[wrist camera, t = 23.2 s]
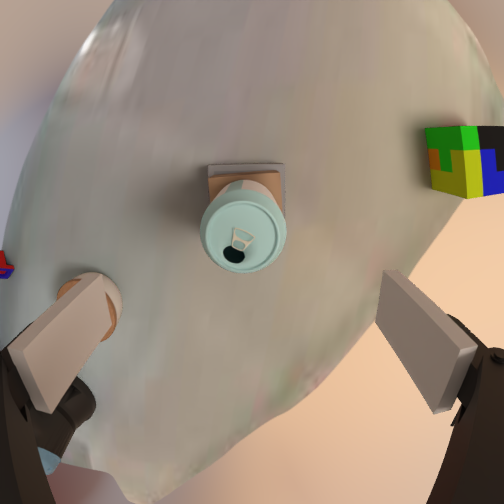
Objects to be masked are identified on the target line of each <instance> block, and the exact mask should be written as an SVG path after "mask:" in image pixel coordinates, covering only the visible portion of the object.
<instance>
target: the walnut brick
mask: <svg viewBox="0 0 504 504" xmlns="http://www.w3.org/2000/svg"><path fill="white" fill-rule="evenodd" d="M238 180H252V181H255V182H258V183H260V184H262V185H263V186H265V187H266V188H267V189H268V190H269V191H270V192H271V194H272V195H273V197H274V199H275V201H276V203H277V205H278V206H279V208H280V210H281V212H282V214H283V211H282V194H281V178H280V172H278V171H277V170H267V171H252V172H240V173H228V174H217V175H213V176H211V177H209V178H208V183H209V193H210V203H211V202H212V201H213V200H214V198H215V197H216V196H217V195H218V193H219V192H220V191H221V190H222V189H223V188H224V187H225V186H227V185H228V184H230V183H232V182H234V181H238Z"/></svg>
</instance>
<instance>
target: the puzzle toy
mask: <svg viewBox="0 0 504 504" xmlns="http://www.w3.org/2000/svg"><path fill="white" fill-rule="evenodd" d="M425 133H426V140H427V147H428V155H429V163H430V172H431V183H432V189H433V190H437V191H441V192H444V193H448V194H452V195H455V196H459V197H462V198H465V199H470V198H477V197H483V196H489V195H494V194H501V193H504V126H452V127H436V128H425Z"/></svg>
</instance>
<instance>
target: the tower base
mask: <svg viewBox="0 0 504 504" xmlns="http://www.w3.org/2000/svg"><path fill="white" fill-rule="evenodd" d="M267 170H277V171H278V172H280V178H281V194H282V211H283V216H284V219H285V164H283V163H251V164H213V165H208V178H209V177H211V176H213V175H217V174H228V173H240V172H252V171H267ZM208 188H209V183H208ZM210 204H211V203H210V193H209V205H210Z"/></svg>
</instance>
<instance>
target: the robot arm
mask: <svg viewBox="0 0 504 504" xmlns="http://www.w3.org/2000/svg"><path fill="white" fill-rule="evenodd" d="M375 323H376V324H377V325H378V327H379V329H380V330H381V332H382V333H383V335H384V336H385V338H386V339H387V341H388V342H389V344H390V345H391V347H392V348H393V350H394V351H395V353H396V354H397V356H398V358H399V359H400V361H401V362H402V364H403V365H404V367H405V368H406V370H407V372H408V373H409V375H410V376H411V378H412V380H413V381H414V383H415V384H416V386H417V388H418V389H419V391H420V392H421V394H422V396H423V397H424V399H425V401H426V402H427V404H428V406H429V407H430V409H431V411H432V412H433V414H438V413H441V412H445V411H448V410H451V408H452V406H453V404H454V402H455V400H456V398H457V397H458V399H459V400H460V401H461V403H462V404H461V406H460V408H459V410H458V412H457V414H456V416H455V418H454V420H453V422H452V424H451V426H454V428H453V432H452V435H451V438H450V441H449V445H448V448H447V451H446V454H445V457H444V460H443V463H442V465H441V468H440V471H439V474H438V476H437V479H436V481H435V484H434V486H433V489H432V491H431V494H430V496H429V498H428V501H427V503H426V504H504V349H501V348H495V347H493V348H487V347H486V346H485V345H484V344H483V343H482V342H481V341H480V340H479V339H478V338H477V337H476V336H475V335H474V334H473V333H471V332H470V330H469V329H468V328H467V327H465V325H464V324H462V323H461V322H460V321H459V320H458V319H456V318H455V317H453V316H451V315H449V314H445V313H444V312H443V311H442V310H441V309H440V308H439V307H438V306H437V305H436V304H435V303H434V302H433V301H431V299H429V298H428V297H427V296H426V295H425V294H424V293H423V292H422V291H421V290H420V289H419V288H417V287H416V286H415V285H414V284H413V283H412V282H411V281H410V280H409V279H407V278H406V277H405V276H404V275H403V274H402V273H401V272H400V271H398V270H383V276H382V283H381V290H380V296H379V303H378V309H377V315H376V320H375ZM111 325H112V322H111V318H110V313H109V309H108V304H107V299H106V294H105V289H104V284H103V279H102V274H87V275H86V276H85V277H84V278H83V279H81V280H80V281H79V282H78V283H77V284H76V285H74V286H73V287H72V288H71V289H70V290H69V291H67V292H66V293H65V294H64V295H63V296H62V297H61V298H60V299H58V300H57V301H56V302H55V303H54V304H53V305H52V306H51V307H49V308H48V309H47V310H46V311H45V312H44V313H43V314H42V315H41V316H40V317H38V318H37V319H36V320H35V321H34V322H32V323H30V324H29V325H28V326H27V327H26V328H25V329H24V330H23V332H20V333H19V334H18V335H17V337H15V338H14V339H13V340H12V341H11V342H10V343H9V344H8V345H7V346H6V347H5V348H4V349H3V350H2V351H0V504H56V503H55V500H54V497H53V495H52V492H51V489H50V486H49V483H48V481H47V477H46V475H48V474H51V473H53V472H54V470H55V469H56V467H57V465H58V463H60V462H61V458H62V456H63V454H64V452H65V450H66V448H67V446H68V444H69V442H70V440H71V438H72V436H73V434H74V432H75V430H76V429H77V428H78V427H79V426H80V425H81V424H82V423H83V422H85V421H87V420H88V419H89V418H90V417H91V416H92V415H93V413H94V411H95V408H96V401H95V398H94V396H93V394H92V392H91V391H90V389H89V388H88V387H87V386H86V384H85V383H84V382H83V381H81V380H80V379H79V378H78V377H77V374H78V373H79V371H80V370H81V368H82V367H83V365H84V364H85V362H86V361H87V359H88V358H89V357H90V355H91V354H92V352H93V351H94V349H95V348H96V346H97V345H98V344H99V342H100V341H101V339H102V338H103V337H104V335H105V334H106V332H107V331H108V330H109V328H110V327H111Z"/></svg>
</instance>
